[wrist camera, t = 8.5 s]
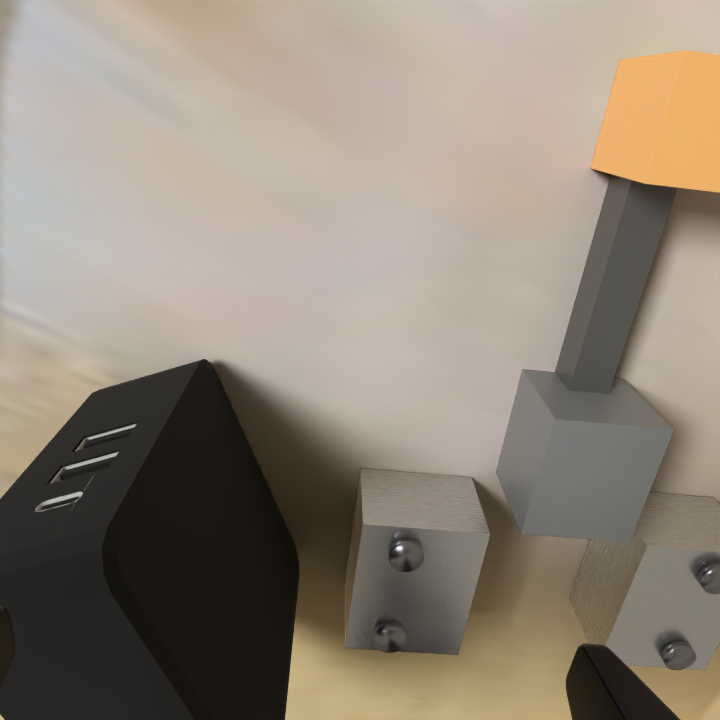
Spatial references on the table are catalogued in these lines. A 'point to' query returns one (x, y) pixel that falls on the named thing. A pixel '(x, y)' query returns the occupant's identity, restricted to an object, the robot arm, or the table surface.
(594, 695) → the robot arm
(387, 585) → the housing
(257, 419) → the table surface
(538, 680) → the table surface
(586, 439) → the orange and grey dumbbell
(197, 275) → the table surface
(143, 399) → the electronic device
